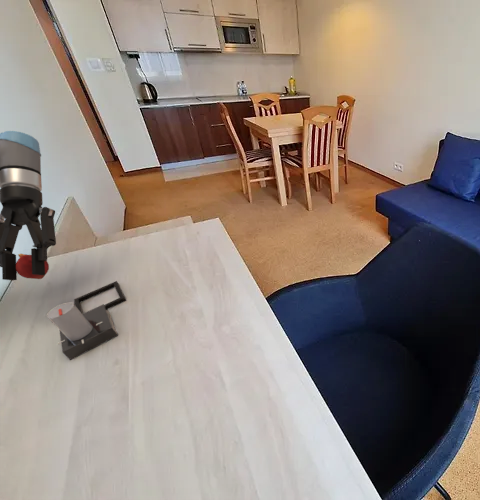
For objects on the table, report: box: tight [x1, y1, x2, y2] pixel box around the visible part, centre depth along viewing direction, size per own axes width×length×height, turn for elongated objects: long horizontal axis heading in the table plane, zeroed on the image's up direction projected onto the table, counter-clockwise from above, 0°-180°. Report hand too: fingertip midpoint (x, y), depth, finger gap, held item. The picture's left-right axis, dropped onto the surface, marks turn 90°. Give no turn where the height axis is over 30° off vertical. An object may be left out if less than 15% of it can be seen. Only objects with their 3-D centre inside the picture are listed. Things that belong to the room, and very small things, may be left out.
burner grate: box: [73, 280, 127, 314], centre depth 88 cm, size 11×11×1 cm
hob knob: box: [46, 301, 93, 341], centre depth 72 cm, size 5×5×8 cm
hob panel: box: [56, 304, 119, 361], centre depth 77 cm, size 13×11×3 cm
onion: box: [16, 253, 50, 280], centre depth 78 cm, size 6×6×8 cm
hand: (24, 276), depth 75 cm, fingers closed on onion, 6 cm apart
